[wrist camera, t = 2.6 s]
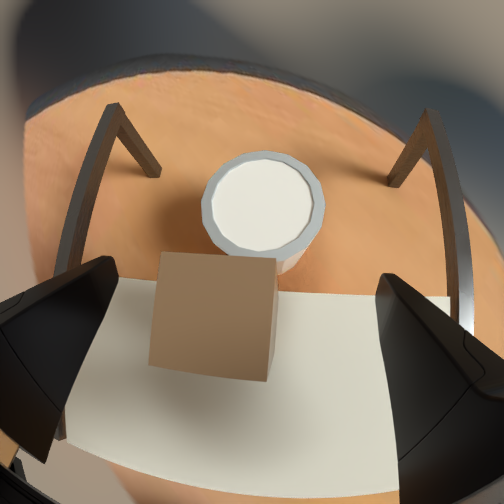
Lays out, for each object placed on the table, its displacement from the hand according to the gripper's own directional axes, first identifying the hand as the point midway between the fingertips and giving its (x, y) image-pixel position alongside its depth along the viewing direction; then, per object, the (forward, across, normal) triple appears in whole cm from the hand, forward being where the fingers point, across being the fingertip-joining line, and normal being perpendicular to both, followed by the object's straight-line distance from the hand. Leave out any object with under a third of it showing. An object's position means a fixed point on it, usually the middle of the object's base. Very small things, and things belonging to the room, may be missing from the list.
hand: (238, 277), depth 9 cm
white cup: (+13, 0, +5) cm, 14 cm away
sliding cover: (0, 0, +6) cm, 6 cm away
